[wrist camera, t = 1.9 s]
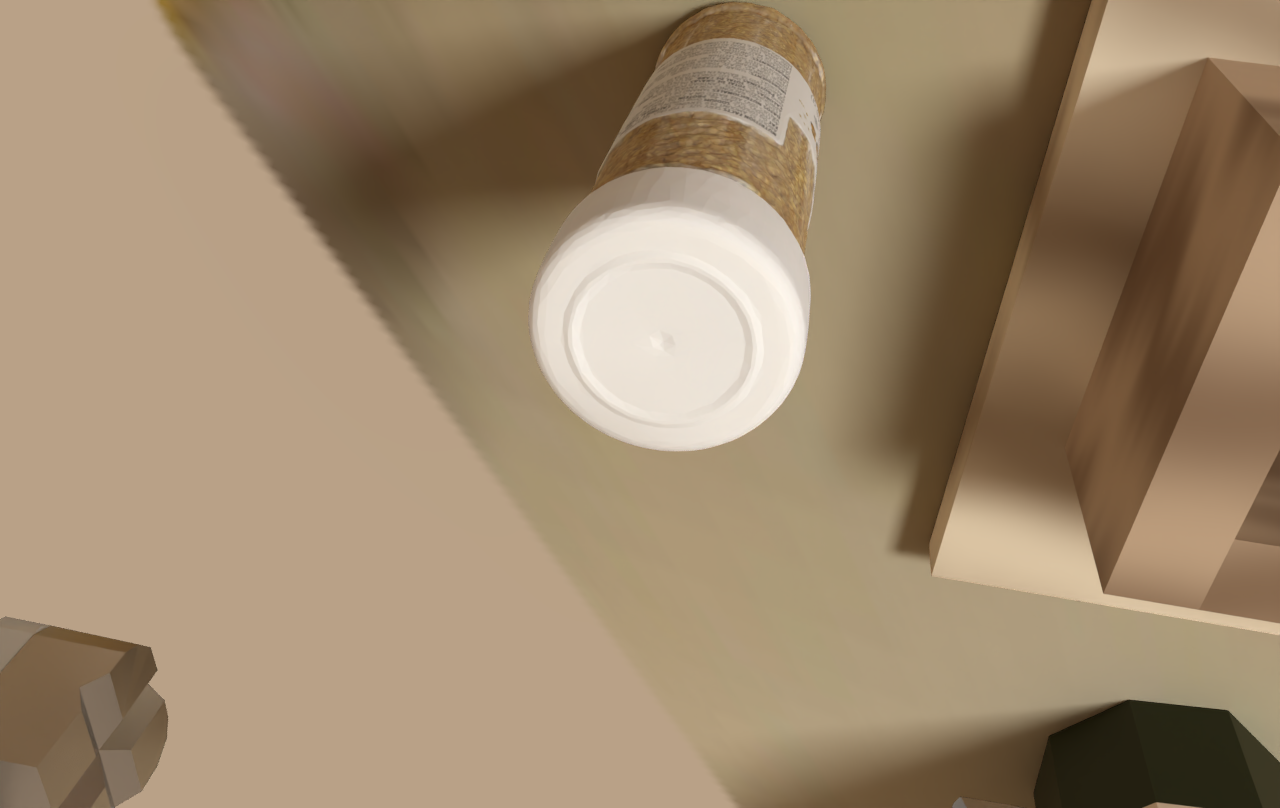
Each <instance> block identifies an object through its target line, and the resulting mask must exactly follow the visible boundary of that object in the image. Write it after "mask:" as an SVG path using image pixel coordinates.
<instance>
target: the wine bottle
mask: <svg viewBox="0 0 1280 808" xmlns="http://www.w3.org/2000/svg"><path fill="white" fill-rule="evenodd" d="M1034 799H1035V806H1036V808H1280V762H1279V761H1278V760H1277V759H1276V758H1275V757H1274V756H1273V755H1272V754H1271V753H1270V752H1269V751H1268V750H1267V749H1266V748H1265V747H1264V746H1263V745H1262V744H1261V743H1260V742H1259V741H1258V740H1257V739H1256V738H1255V737H1254V736H1253V735H1252V734H1251V733H1250V732H1249V731H1248V730H1247V729H1246V728H1245V727H1244V726H1243V725H1242V724H1241V723H1240V722H1239V721H1238V720H1237V719H1236V718H1235V717H1234V716H1233V715H1232V714H1231V713H1230V712H1229V711H1225V710H1216V709H1207V708H1197V707H1188V706H1179V705H1169V704H1160V703H1151V702H1141V701H1132V700H1129V701H1127V702H1124V703H1122V704H1120V705H1118V706H1115V707H1113V708H1111V709H1109V710H1107V711H1104V712H1102V713H1100V714H1098V715H1095V716H1093V717H1091V718H1089V719H1087V720H1084V721H1082V722H1080V723H1078V724H1075V725H1073V726H1071V727H1069V728H1067V729H1064V730H1062V731H1060V732H1058V733H1055V734H1053V735H1051V736H1049V739H1048V742H1047V746H1046V750H1045V753H1044V757H1043V761H1042V764H1041V768H1040V772H1039V775H1038V779H1037V783H1036V786H1035V790H1034Z"/></svg>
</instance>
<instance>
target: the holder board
mask: <svg viewBox="0 0 1280 808" xmlns="http://www.w3.org/2000/svg"><path fill="white" fill-rule="evenodd" d="M929 551H930V564H931V576H935V577H941V578H947V579H953V580H958V581H964V582H970V583H976V584H982V585H988V586H994V587H1000V588H1006V589H1011V590H1017V591H1023V592H1029V593H1035V594H1041V595H1047V596H1053V597H1059V598H1064V599H1070V600H1076V601H1082V602H1088V603H1094V604H1100V605H1106V606H1112V607H1117V608H1123V609H1129V610H1135V611H1141V612H1147V613H1153V614H1159V615H1165V616H1170V617H1176V618H1182V619H1188V620H1194V621H1200V622H1206V623H1212V624H1218V625H1223V626H1229V627H1235V628H1241V629H1247V630H1253V631H1259V632H1265V633H1270V634H1276V635H1280V0H1092V1H1091V4H1090V8H1089V11H1088V14H1087V18H1086V21H1085V24H1084V28H1083V31H1082V34H1081V38H1080V41H1079V44H1078V48H1077V51H1076V54H1075V58H1074V61H1073V64H1072V68H1071V71H1070V75H1069V78H1068V81H1067V85H1066V88H1065V91H1064V95H1063V98H1062V101H1061V105H1060V108H1059V111H1058V115H1057V118H1056V121H1055V125H1054V128H1053V131H1052V135H1051V138H1050V141H1049V145H1048V148H1047V152H1046V155H1045V158H1044V162H1043V165H1042V168H1041V172H1040V175H1039V178H1038V182H1037V185H1036V188H1035V192H1034V195H1033V198H1032V202H1031V205H1030V208H1029V212H1028V215H1027V218H1026V222H1025V225H1024V228H1023V232H1022V235H1021V239H1020V242H1019V245H1018V249H1017V252H1016V255H1015V259H1014V262H1013V265H1012V269H1011V272H1010V275H1009V279H1008V282H1007V285H1006V289H1005V292H1004V295H1003V299H1002V302H1001V305H1000V309H999V312H998V315H997V319H996V322H995V326H994V329H993V332H992V336H991V339H990V342H989V346H988V349H987V352H986V356H985V359H984V362H983V366H982V369H981V372H980V376H979V379H978V382H977V386H976V389H975V392H974V396H973V399H972V403H971V406H970V409H969V413H968V416H967V419H966V423H965V426H964V429H963V433H962V436H961V439H960V443H959V446H958V449H957V453H956V456H955V459H954V463H953V466H952V469H951V473H950V476H949V479H948V483H947V486H946V490H945V493H944V496H943V500H942V503H941V506H940V510H939V513H938V516H937V520H936V523H935V526H934V530H933V533H932V536H931V540H930V543H929Z"/></svg>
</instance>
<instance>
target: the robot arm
mask: <svg viewBox="0 0 1280 808" xmlns="http://www.w3.org/2000/svg"><path fill="white" fill-rule="evenodd" d="M156 672H157V667H156V664H155V661H154V657H153V654H152V650H151V648H150V647H147V646H143V645H138V644H133V643H129V642H124V641H120V640H115V639H110V638H106V637H101V636H97V635H92V634H88V633H83V632H78V631H73V630H69V629H64V628H60V627H55V626H51V625H45V624H40V623H35V622H29V621H25V620H20V619H15V618H10V617H4V618H2V619H0V808H115V807H116V806H118V805H119V804H121V803H123V802H124V801H126V800H128V799H129V798H131V797H133V796H134V795H136V794H138V793H139V792H141V791H142V790H143V788H144V787H145V785H146V783H147V782H148V780H149V779H150V777H151V775H152V774H153V772H154V771H155V769H156V767H157V765H158V762H159V759H160V757H161V754H162V751H163V748H164V745H165V742H166V739H167V727H168V715H167V709H166V705H165V700H164V699H163V698H162V697H161V696H160V695H159V694H158V693H157V692H156V691H155V690H154V689H153V688H152V687H151V686H150V685H149V684H148V683H149V681H150V680H151V679H152V677H153V676H154V674H155V673H156ZM952 808H1024V807H1019V806H1013V805H1007V804H1001V803H995V802H990V801H984V800H978V799H972V798H967V797H961V796H960V797H959V798H958V799H957V800H956V801H955V802H954V804H953V807H952Z"/></svg>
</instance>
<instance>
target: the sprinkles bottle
mask: <svg viewBox="0 0 1280 808" xmlns="http://www.w3.org/2000/svg"><path fill="white" fill-rule="evenodd" d="M825 100H826V82H825V72H824V67H823V64H822V62H821V59H820V57H819V55H818V52H817V50H816V48H815V46H814V45H813V43H812V41H811V40H810V39H809V38H808V37H807V36H806V34H805V33H804V32H803V30H802V29H801V28H800V27H799V26H798V25H796V24H795V23H794V22H792V21H791V20H790V19H789V18H787V17H785V16H784V15H783V14H781V13H780V12H778V11H777V10H775V9H774V8H770V7H766V6H760V5H756V4H753V3H737V2H728V3H724V4H720V5H715V6H711V7H708V8H705V9H703V10H702V11H700V12H699V13H697V14H695V15H694V16H692V17H690V18H689V19H687V20H686V21H685V22H683V23H682V24H681V25H680V26H679V27H678V28H677V29H676V30H675V31H674V32H673V33H672V35H671V36H670V37H669V39H668V40H667V42H666V43H665V45H664V47H663V49H662V50H661V52H660V55H659V57H658V59H657V63H656V67H655V71H654V73H653V74H652V75H651V77H650V79H649V80H648V82H647V83H646V85H645V86H644V88H643V90H642V92H641V94H640V96H639V97H638V99H637V101H636V102H635V104H634V106H633V108H632V110H631V111H630V113H629V115H628V117H627V119H626V120H625V122H624V124H623V126H622V127H621V129H620V131H619V133H618V135H617V137H616V139H615V140H614V142H613V144H612V146H611V148H610V150H609V152H608V154H607V155H606V157H605V159H604V161H603V163H602V165H601V167H600V169H599V171H598V174H597V178H596V181H595V185H594V187H593V189H592V191H591V193H590V194H589V195H588V196H587V197H586V198H585V199H583V200H582V201H581V202H580V203H579V204H578V205H577V206H576V207H575V208H574V209H573V211H572V212H571V213H570V214H569V215H568V217H567V218H566V220H565V221H564V223H563V224H562V226H561V227H560V229H559V231H558V232H557V234H556V236H555V238H554V239H553V241H552V243H551V245H550V247H549V249H548V251H547V253H546V255H545V257H544V259H543V262H542V264H541V266H540V268H539V271H538V273H537V276H536V279H535V282H534V285H533V287H532V292H531V296H530V301H529V315H528V325H529V333H530V339H531V343H532V348H533V351H534V354H535V357H536V360H537V363H538V365H539V368H540V370H541V371H542V373H543V375H544V377H545V379H546V380H547V382H548V383H549V385H550V387H551V388H552V389H553V391H554V392H555V393H556V395H557V396H558V397H559V398H560V399H561V401H562V402H563V403H564V404H565V405H566V406H567V407H568V408H569V409H570V410H571V411H572V412H573V413H575V414H576V415H577V416H578V417H580V418H581V419H582V420H584V421H585V422H587V423H588V424H589V425H591V426H592V427H594V428H595V429H597V430H599V431H600V432H602V433H604V434H606V435H608V436H610V437H613V438H615V439H617V440H620V441H623V442H625V443H628V444H631V445H635V446H639V447H643V448H648V449H654V450H662V451H693V450H700V449H705V448H710V447H714V446H717V445H721V444H724V443H727V442H730V441H732V440H734V439H737V438H739V437H741V436H743V435H744V434H746V433H748V432H749V431H751V430H753V429H754V428H756V427H757V426H759V425H760V424H761V423H762V422H764V421H765V420H766V419H767V418H768V417H769V416H770V415H772V414H773V413H774V411H775V410H776V409H777V408H778V407H779V406H780V405H781V404H782V403H783V402H784V400H785V399H786V397H787V396H788V394H789V393H790V391H791V389H792V388H793V386H794V384H795V381H796V379H797V377H798V375H799V372H800V369H801V366H802V363H803V359H804V354H805V350H806V343H807V335H808V327H809V314H810V301H811V290H810V278H809V272H808V268H807V264H806V260H805V257H804V253H805V245H806V239H807V231H808V227H809V223H810V218H811V214H812V208H813V202H814V189H815V182H816V173H817V164H818V154H819V145H820V130H821V129H820V121H821V118H822V115H823V112H824V106H825Z"/></svg>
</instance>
